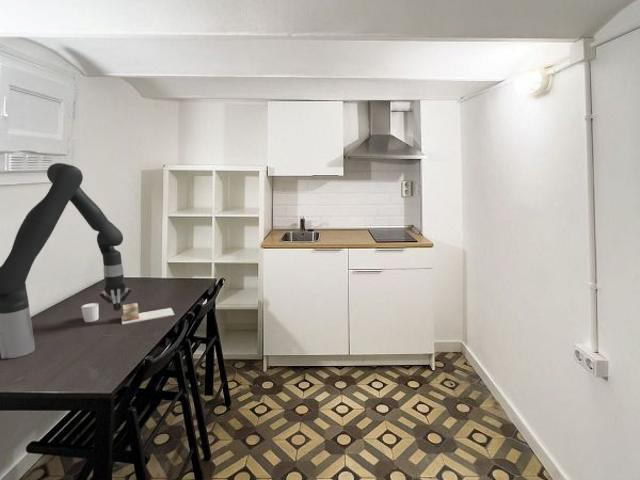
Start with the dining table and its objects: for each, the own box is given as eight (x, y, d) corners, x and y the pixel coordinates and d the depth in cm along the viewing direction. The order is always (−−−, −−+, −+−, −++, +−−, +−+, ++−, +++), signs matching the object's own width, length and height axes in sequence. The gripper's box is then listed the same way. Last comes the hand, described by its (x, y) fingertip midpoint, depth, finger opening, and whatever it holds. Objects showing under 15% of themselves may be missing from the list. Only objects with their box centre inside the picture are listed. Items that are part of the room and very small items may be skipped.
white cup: (94, 322, 159) (92, 308, 158) (79, 322, 159) (77, 307, 158) (103, 316, 166) (101, 302, 165) (89, 316, 166) (87, 302, 165)
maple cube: (124, 321, 159) (123, 309, 158) (123, 317, 164) (122, 305, 163) (139, 319, 162) (138, 306, 161) (138, 314, 167) (137, 302, 166)
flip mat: (122, 324, 157) (122, 323, 157) (121, 317, 165) (121, 316, 165) (174, 315, 168) (174, 314, 168) (171, 308, 176) (171, 307, 176)
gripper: (96, 278, 150) (100, 316, 153) (130, 273, 157) (134, 310, 160) (96, 274, 156) (100, 310, 159) (130, 270, 163) (133, 305, 166)
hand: (117, 310), depth 159 cm, fingers closed
